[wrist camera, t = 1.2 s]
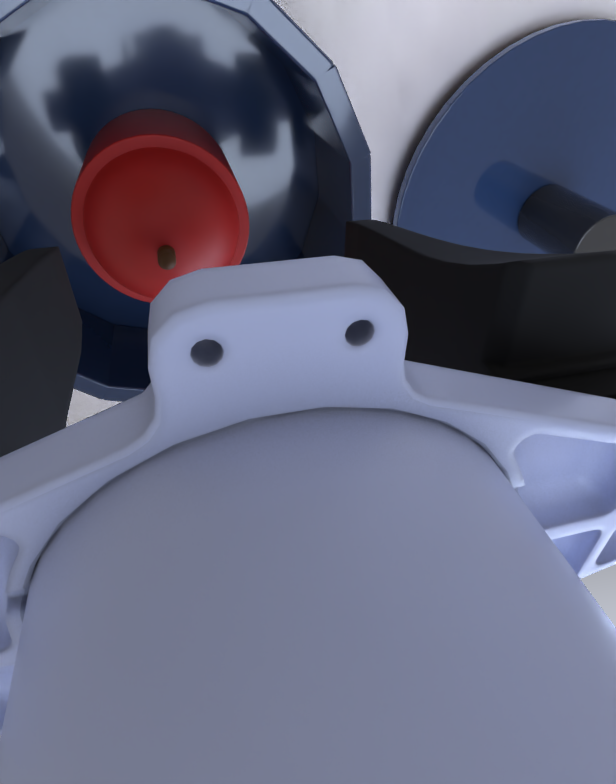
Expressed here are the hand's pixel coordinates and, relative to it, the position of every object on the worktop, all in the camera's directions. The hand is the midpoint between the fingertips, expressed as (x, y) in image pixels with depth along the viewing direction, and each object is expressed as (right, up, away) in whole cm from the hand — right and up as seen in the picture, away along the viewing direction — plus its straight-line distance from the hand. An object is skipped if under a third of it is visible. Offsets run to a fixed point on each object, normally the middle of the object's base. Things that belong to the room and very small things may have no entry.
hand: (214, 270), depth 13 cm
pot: (-3, +5, +6) cm, 8 cm away
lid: (+13, +5, +10) cm, 17 cm away
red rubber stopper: (-3, +4, +6) cm, 8 cm away
